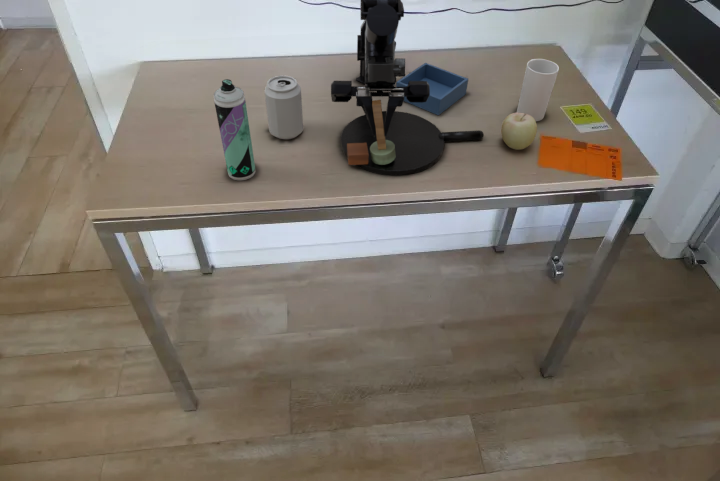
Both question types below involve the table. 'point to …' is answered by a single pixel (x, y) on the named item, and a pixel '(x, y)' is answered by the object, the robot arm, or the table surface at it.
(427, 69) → the bin
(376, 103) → the dish brush
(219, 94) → the spray can
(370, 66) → the robot arm
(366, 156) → the reddish brown square block
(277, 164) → the table surface
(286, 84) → the can
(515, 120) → the fruit
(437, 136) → the griddle pan
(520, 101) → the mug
